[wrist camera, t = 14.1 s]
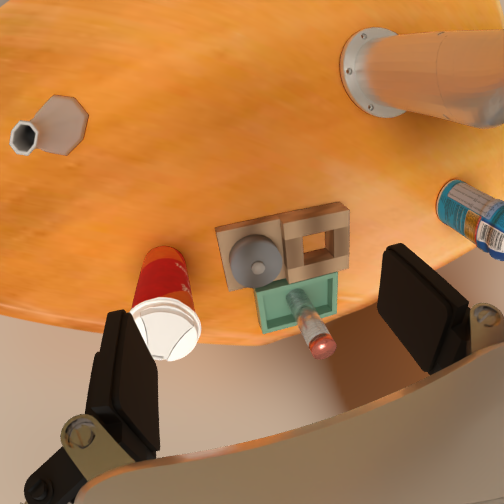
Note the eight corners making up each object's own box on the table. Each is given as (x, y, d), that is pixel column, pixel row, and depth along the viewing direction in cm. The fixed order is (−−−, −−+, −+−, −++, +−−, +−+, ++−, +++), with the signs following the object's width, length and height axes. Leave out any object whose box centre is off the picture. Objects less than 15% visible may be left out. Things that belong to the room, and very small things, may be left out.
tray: (330, 263, 47) (337, 271, 44) (330, 304, 51) (336, 313, 48) (252, 282, 45) (256, 292, 43) (259, 323, 49) (263, 334, 47)
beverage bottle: (453, 167, 43) (547, 216, 26) (471, 195, 47) (553, 245, 30) (426, 207, 46) (516, 269, 29) (447, 231, 49) (525, 291, 32)
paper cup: (184, 293, 44) (191, 369, 32) (131, 282, 41) (119, 357, 29) (200, 245, 41) (212, 314, 29) (142, 231, 38) (129, 298, 26)
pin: (305, 286, 47) (337, 338, 37) (306, 302, 48) (335, 354, 38) (284, 291, 46) (312, 345, 37) (286, 307, 48) (312, 362, 38)
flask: (99, 111, 30) (71, 119, 21) (70, 165, 32) (37, 190, 23) (52, 84, 27) (13, 85, 18) (25, 138, 29) (-17, 156, 20)
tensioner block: (339, 201, 42) (355, 214, 38) (339, 258, 46) (353, 273, 43) (214, 227, 40) (219, 243, 36) (227, 285, 44) (232, 304, 41)
